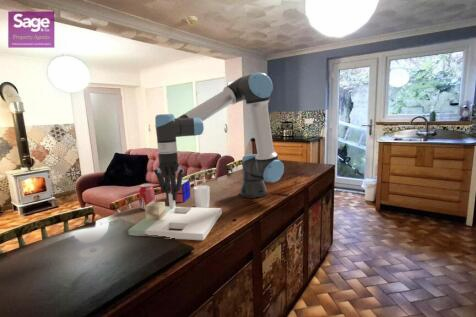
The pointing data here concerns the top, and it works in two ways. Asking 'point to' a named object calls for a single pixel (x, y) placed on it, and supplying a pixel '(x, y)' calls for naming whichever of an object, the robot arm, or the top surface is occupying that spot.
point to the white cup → (202, 196)
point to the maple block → (155, 210)
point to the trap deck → (180, 223)
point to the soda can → (146, 195)
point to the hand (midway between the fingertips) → (172, 207)
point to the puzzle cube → (182, 191)
